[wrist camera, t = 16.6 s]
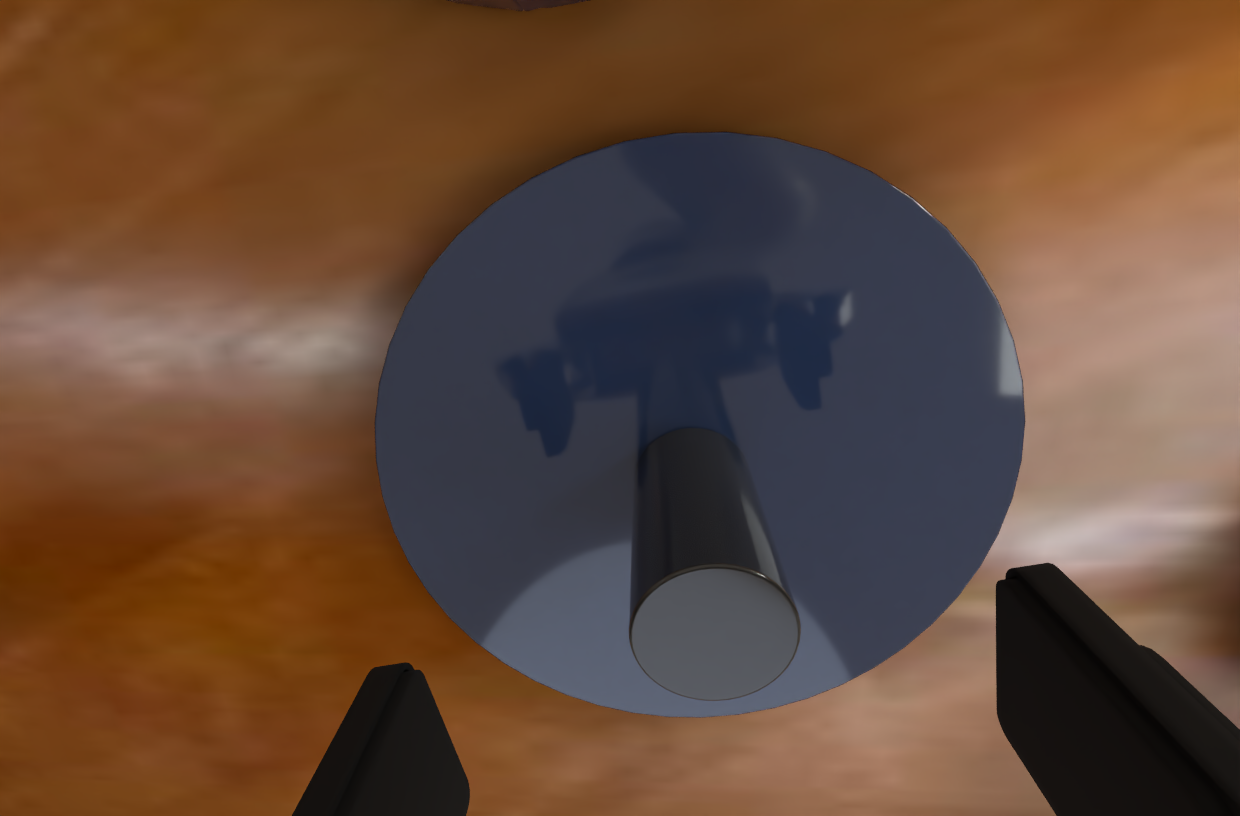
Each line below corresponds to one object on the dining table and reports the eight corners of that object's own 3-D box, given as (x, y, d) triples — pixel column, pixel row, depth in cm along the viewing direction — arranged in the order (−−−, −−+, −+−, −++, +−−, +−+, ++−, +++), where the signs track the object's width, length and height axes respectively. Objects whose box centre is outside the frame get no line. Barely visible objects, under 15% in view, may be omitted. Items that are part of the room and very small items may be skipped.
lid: (1000, 53, 14) (1329, -47, 7) (1000, 648, 19) (1179, 895, 13) (296, 220, 15) (42, 264, 9) (489, 718, 21) (420, 963, 15)
